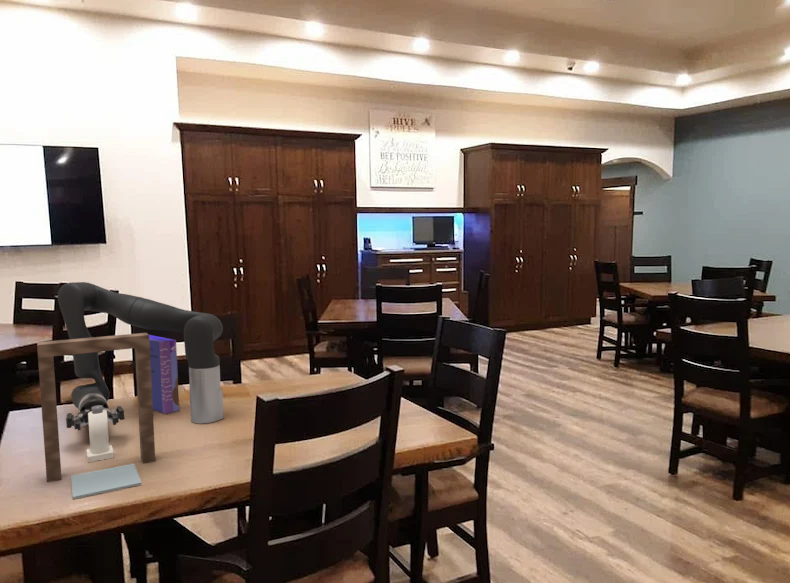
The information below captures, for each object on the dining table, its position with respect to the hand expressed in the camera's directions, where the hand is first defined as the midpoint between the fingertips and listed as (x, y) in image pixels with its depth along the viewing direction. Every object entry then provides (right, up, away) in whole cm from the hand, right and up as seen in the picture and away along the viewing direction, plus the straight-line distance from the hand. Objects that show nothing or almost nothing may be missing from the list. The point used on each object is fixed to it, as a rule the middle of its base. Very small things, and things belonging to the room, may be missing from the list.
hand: (97, 424), depth 153 cm
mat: (+12, -9, -18) cm, 23 cm away
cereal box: (0, -4, +39) cm, 39 cm away
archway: (+7, -9, -10) cm, 15 cm away
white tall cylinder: (+2, -8, -3) cm, 9 cm away
